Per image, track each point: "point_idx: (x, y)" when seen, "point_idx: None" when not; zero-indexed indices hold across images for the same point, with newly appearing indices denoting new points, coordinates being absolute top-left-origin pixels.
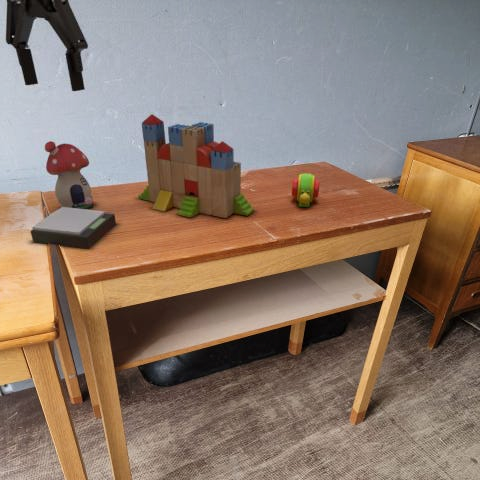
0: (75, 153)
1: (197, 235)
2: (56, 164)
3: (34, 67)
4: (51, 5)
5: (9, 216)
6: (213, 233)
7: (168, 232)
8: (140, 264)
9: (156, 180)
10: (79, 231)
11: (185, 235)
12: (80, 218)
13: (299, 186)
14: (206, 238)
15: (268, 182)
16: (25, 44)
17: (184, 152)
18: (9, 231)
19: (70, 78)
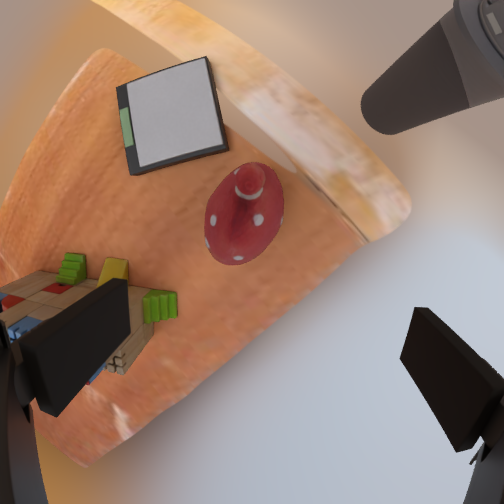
0: (208, 221)
1: (38, 205)
2: (235, 170)
3: (423, 395)
4: None
5: (330, 118)
6: (29, 221)
7: (66, 193)
8: (56, 103)
9: None
10: (127, 86)
11: (47, 197)
12: (156, 121)
13: None
14: (29, 203)
15: (78, 407)
16: (482, 451)
17: (29, 310)
18: (277, 72)
19: (98, 294)
